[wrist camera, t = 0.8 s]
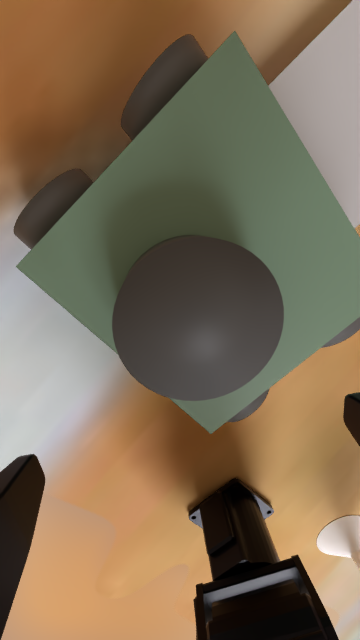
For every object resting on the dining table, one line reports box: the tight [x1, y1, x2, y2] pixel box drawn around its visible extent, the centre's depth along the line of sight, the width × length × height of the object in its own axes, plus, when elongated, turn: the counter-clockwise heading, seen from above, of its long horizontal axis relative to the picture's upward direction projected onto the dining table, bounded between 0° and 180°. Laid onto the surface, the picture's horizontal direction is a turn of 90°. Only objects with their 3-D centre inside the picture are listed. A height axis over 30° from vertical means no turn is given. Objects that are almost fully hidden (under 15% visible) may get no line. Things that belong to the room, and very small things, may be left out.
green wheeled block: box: [14, 0, 360, 434], centre depth 14 cm, size 17×25×9 cm
